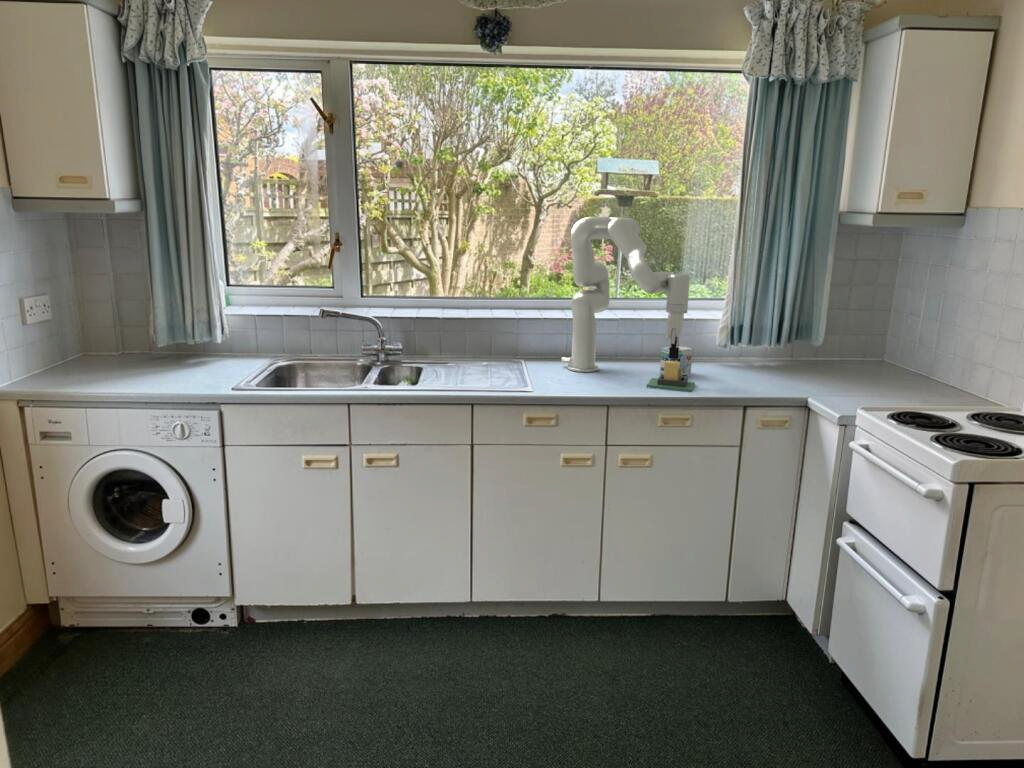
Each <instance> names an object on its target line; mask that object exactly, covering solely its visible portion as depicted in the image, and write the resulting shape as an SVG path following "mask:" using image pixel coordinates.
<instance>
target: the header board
mask: <svg viewBox="0 0 1024 768" xmlns="http://www.w3.org/2000/svg"><path fill="white" fill-rule="evenodd" d="M688 380H689V377H687V376H681V381H676V380H666V379H664V375H663V374H660V375H659V377H651V379H650V380H649V381H648V383H647V384H646V388H647V387H650V388H649V389H656V388H659V389H658V390H666V389H668V390H667V391H676V390H677V391H678V392H686V393H687V392H688V393H691V392H692V391H693V389H694V387H695V384H696V382H695V381H688Z"/></svg>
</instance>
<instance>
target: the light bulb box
mask: <svg viewBox="0 0 1024 768" xmlns="http://www.w3.org/2000/svg"><path fill="white" fill-rule="evenodd" d="M669 348H670V346H663V347H661V355H660V365H659V374H660V373H661V374H660V375H664V366H665V362H666V361H677V362H680V368H682V375H690V376H691V374H692V373H691V371H692V363H693V354H694V353H693V352H694V349H693V348H690V347H688V346H686V345H679V355H678V359H672V358H669ZM682 375H681V377H683V376H682Z"/></svg>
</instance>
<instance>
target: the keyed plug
mask: <svg viewBox="0 0 1024 768" xmlns="http://www.w3.org/2000/svg"><path fill="white" fill-rule="evenodd" d="M681 375H682V368H680V362H677V361H666V362H665V366H664V379H666V380H676V381H681V377H682V376H681Z"/></svg>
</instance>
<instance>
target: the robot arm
mask: <svg viewBox="0 0 1024 768" xmlns="http://www.w3.org/2000/svg"><path fill="white" fill-rule="evenodd" d="M640 233H641V227H640V225H639V222H638V221H636V220H635V219H634V218H632V217H614V216H612V217H611V216H586V217H583V218H580V219H579V220H577V221H575V224H573V227H572V228H571V230H570V244H571V245H570V246H571V252H572V272H573V273H572V274H573V280H574V284H576V286H577V287H580V288H587V287H588V289H585V290H581V291H578V292H577V293H575V294H574V295H573V296H572V299H571V303H570V307H571V313H572V314H571V315H572V338H571V340H572V341H571V356H570V357H565V356H562V357H561V358H560V359H561V361H560V362H562V363H564V364H566V363H567V364H568V365H567V367H566V368H567V369H568V370H569V371H572V372H578V373H579V372H580V373H593V372H597V371H599V370H600V369H599V368H600V367H599V365H598V364H596V353H597V352H596V350H597V332H598V331H597V328H598V327H597V326H598V325H597V320H596V317H595V314H599V313H602V312H604V311H606V310H607V309H608V307H609V305H610V297H611V296H610V280H609V279H610V276H609V272H608V269H607V267H606V265H605V264H603V263H602V262H600V261H596V260H595V250H594V249H595V248H594V246H593V244H592V243H591V242H592V240H611V241H612V242H613V243H614V245H615V246H616V247H617V249H618V250H619V251H620V252H621V254H622V255H623V256H624V257H625V259H626V260H627V265H628V270H629V273H630V274H631V275H630V276H631V277H632V279H633V280H634V281H635V282H636V284H637V285H638V286H639V287H640V289H641V290H643V292H645V293H647V294H650V295H652V294H653V295H654V294H659V293H666V304H665V305H666V306H665V307H666V308H665V312H666V313H668V314H667V322H666V331H665V332H666V333H665V334H666V335H665V340H666V341H668V340H669V339H670V340H669V347H670V348H669V358H672V359H678V355H679V346H680V345H679V344H680V340H681V339H682V337H683V331H684V318H685V316H684V315H685V314H688V309H689V308H688V307H689V294H690V293H689V292H690V275H688V274H686V273H676V272H675V273H674V272H668V271H665V270H664V271H655V272H654V271H653V270H652V269H651V268H650V266H649V265H648V263H647V262H646V260H645V257H644V256H645V255H644V254H645V253H646V251H647V245H646V243H644V241H643V240H642V238H641V237H640V236H639V235H640Z"/></svg>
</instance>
